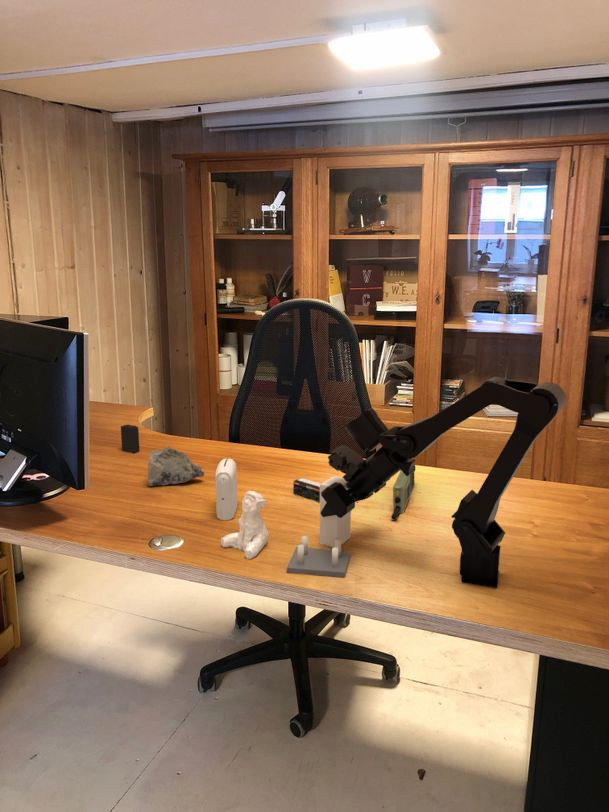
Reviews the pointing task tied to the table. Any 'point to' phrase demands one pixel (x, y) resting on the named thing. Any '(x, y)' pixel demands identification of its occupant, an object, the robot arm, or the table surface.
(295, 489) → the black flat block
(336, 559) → the grey peg board
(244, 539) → the white creature statuette
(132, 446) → the ink cartridge
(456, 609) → the table surface
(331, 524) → the block
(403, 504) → the handheld radio
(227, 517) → the photo printer
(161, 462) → the mineral rock
